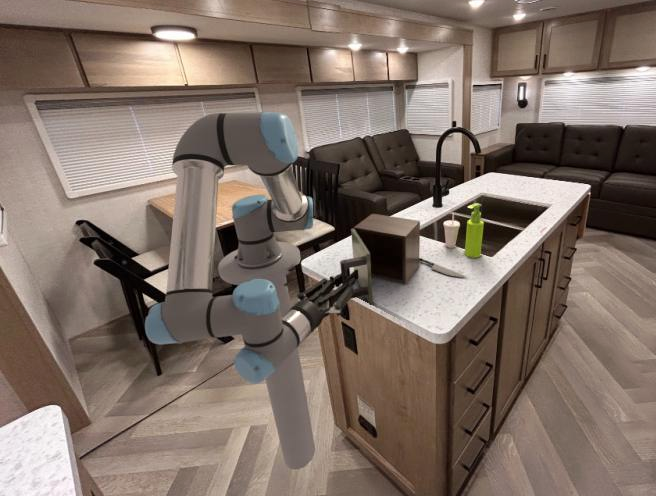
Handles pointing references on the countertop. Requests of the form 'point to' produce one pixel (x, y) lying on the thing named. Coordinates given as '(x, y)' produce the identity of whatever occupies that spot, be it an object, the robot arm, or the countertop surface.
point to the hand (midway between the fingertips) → (352, 272)
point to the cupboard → (391, 246)
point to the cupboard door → (359, 268)
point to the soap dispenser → (474, 232)
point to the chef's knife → (442, 269)
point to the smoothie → (451, 232)
